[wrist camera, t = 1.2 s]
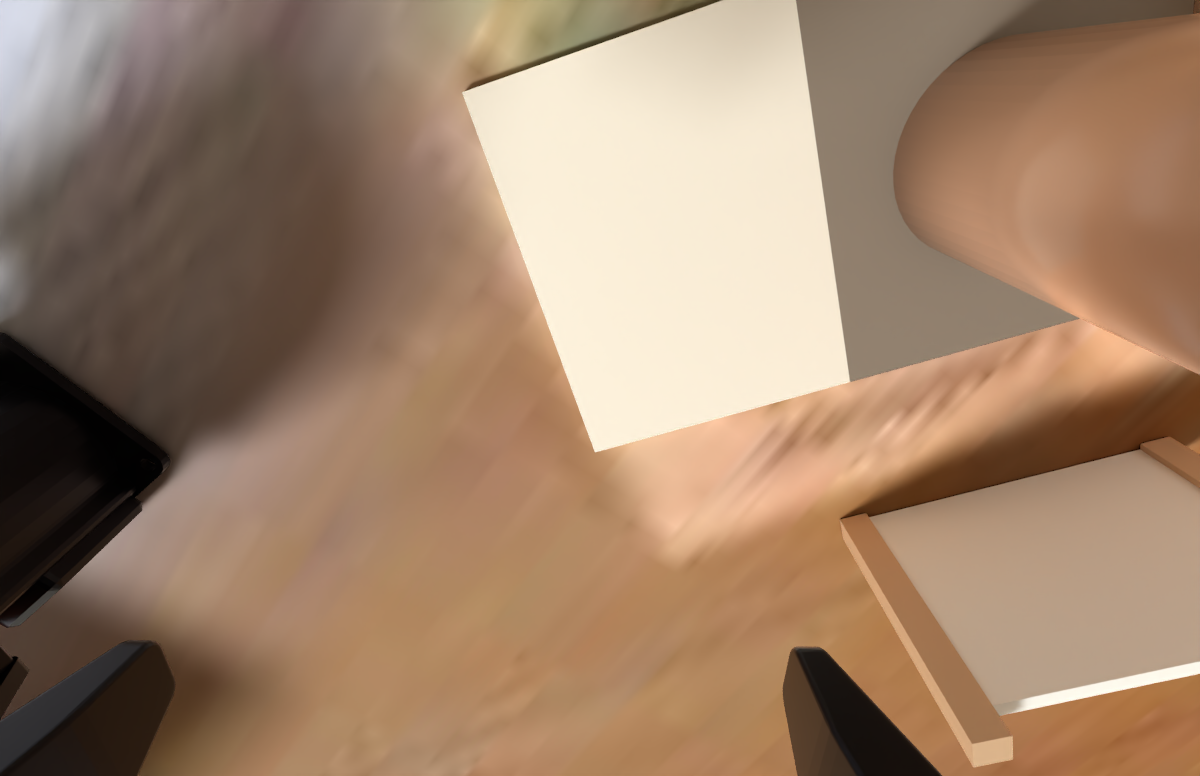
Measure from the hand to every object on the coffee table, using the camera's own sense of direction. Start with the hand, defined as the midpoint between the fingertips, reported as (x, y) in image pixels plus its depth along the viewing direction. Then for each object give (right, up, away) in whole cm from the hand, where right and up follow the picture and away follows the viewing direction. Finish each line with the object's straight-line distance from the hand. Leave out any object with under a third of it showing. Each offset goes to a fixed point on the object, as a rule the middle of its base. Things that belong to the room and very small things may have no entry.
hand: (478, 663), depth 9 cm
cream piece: (+11, +7, +11) cm, 17 cm away
